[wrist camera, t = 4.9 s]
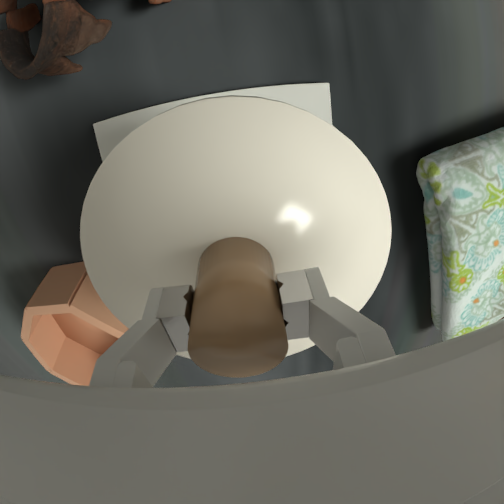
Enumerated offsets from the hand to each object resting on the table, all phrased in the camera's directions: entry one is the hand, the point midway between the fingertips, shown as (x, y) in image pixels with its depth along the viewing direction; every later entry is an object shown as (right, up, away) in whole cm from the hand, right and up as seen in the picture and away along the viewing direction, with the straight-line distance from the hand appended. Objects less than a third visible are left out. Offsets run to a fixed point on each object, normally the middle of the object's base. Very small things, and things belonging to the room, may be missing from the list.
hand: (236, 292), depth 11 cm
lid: (0, +1, +2) cm, 2 cm away
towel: (+24, +4, +11) cm, 27 cm away
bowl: (-13, -4, +13) cm, 19 cm away
